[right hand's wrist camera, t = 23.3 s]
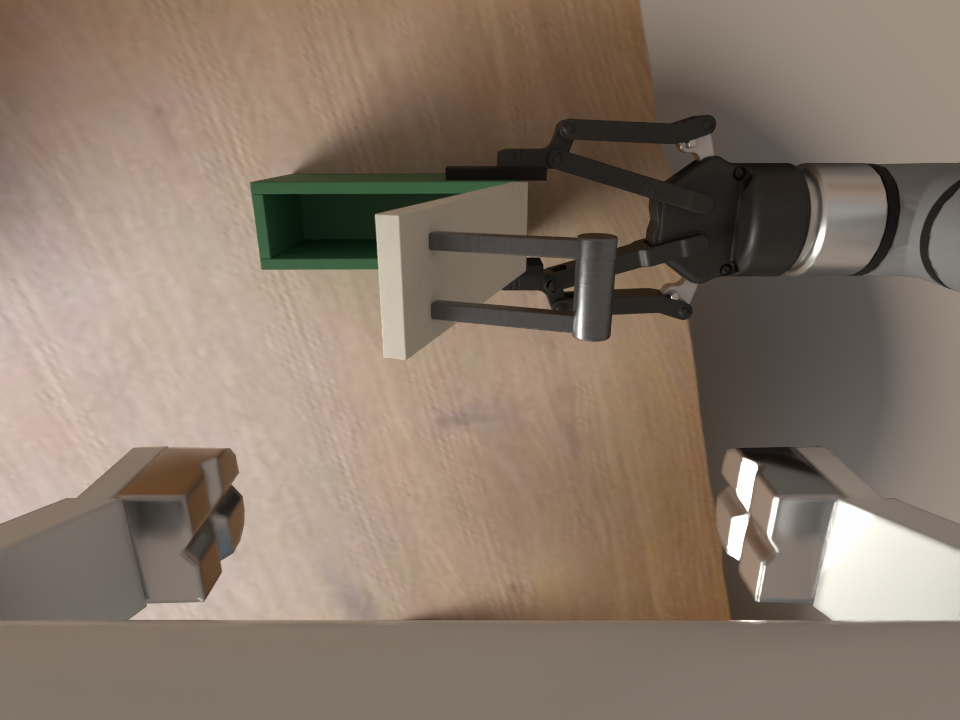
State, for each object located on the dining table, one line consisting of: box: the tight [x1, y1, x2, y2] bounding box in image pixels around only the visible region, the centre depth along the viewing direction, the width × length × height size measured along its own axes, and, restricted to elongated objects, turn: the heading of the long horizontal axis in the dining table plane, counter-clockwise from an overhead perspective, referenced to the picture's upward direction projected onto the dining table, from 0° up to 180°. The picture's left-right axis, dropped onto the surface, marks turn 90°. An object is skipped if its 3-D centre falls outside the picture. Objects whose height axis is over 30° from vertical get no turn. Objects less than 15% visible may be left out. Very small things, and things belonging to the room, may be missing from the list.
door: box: [375, 182, 618, 360], centre depth 29 cm, size 18×6×8 cm
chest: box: [250, 174, 520, 270], centre depth 43 cm, size 17×6×9 cm, turn 90°
